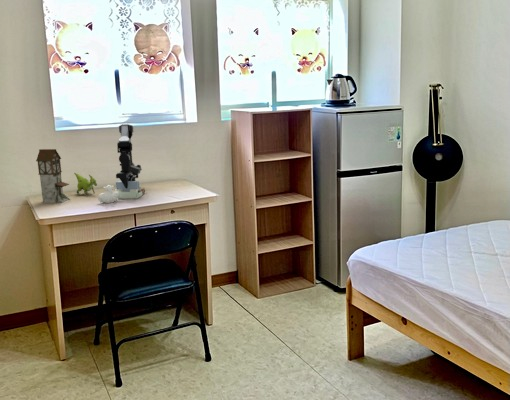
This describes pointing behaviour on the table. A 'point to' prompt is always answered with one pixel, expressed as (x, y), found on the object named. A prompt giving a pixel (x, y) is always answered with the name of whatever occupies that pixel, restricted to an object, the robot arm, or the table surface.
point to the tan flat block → (138, 191)
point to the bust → (108, 195)
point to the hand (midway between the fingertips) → (127, 187)
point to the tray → (129, 195)
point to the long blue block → (130, 185)
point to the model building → (51, 176)
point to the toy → (85, 184)
